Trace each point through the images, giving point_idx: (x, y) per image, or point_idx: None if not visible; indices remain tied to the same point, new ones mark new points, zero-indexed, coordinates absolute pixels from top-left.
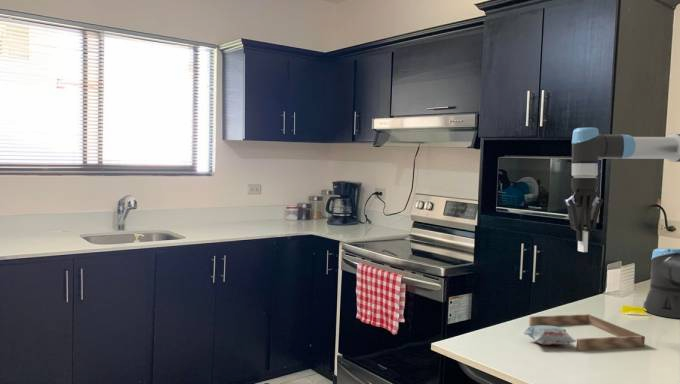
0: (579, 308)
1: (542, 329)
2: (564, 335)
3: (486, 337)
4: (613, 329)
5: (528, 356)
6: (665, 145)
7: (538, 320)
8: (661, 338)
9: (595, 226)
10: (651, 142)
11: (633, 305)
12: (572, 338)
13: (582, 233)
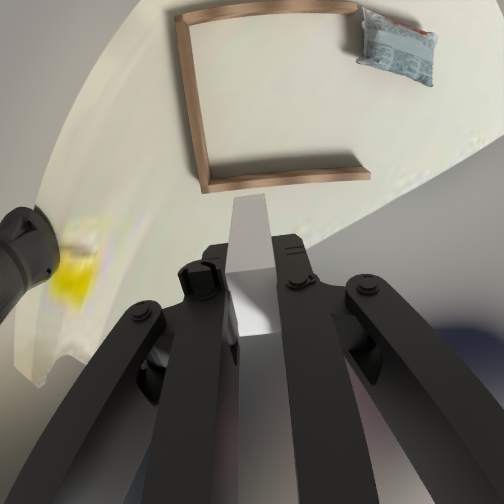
0: (167, 294)
1: (427, 43)
2: (385, 17)
3: (473, 119)
4: (195, 95)
5: (450, 16)
6: None
7: (349, 171)
8: (104, 84)
9: (124, 317)
10: None
11: (65, 303)
12: (367, 11)
13: (277, 271)
